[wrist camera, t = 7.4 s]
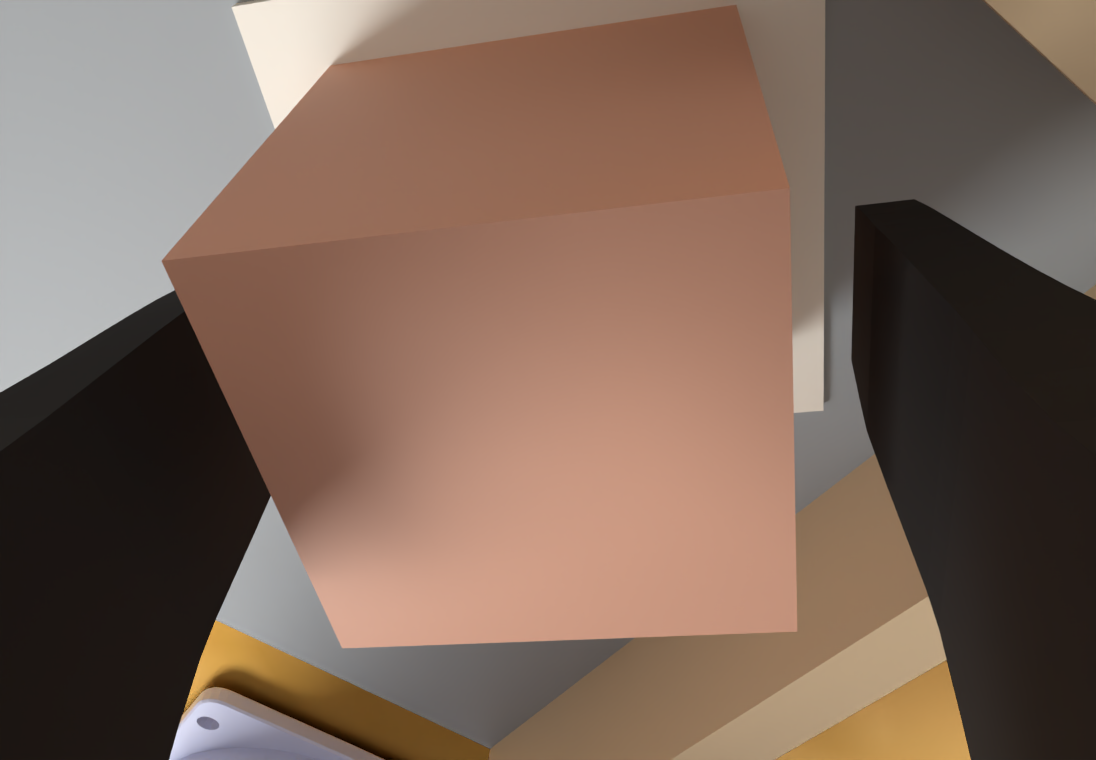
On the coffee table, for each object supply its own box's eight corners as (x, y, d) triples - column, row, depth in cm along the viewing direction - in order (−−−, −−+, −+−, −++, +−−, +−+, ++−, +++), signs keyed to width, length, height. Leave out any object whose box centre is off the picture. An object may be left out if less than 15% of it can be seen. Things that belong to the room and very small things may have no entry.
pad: (822, 404, 14) (823, 410, 14) (388, 438, 15) (386, 444, 15) (822, -95, 10) (825, -92, 10) (236, 3, 11) (231, 6, 11)
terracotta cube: (753, 356, 14) (796, 631, 10) (427, 384, 14) (342, 648, 10) (735, 4, 11) (790, 188, 7) (330, 65, 12) (160, 259, 8)
